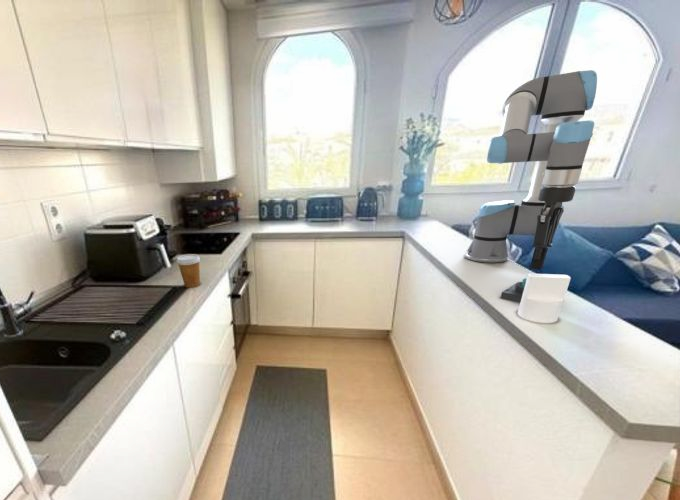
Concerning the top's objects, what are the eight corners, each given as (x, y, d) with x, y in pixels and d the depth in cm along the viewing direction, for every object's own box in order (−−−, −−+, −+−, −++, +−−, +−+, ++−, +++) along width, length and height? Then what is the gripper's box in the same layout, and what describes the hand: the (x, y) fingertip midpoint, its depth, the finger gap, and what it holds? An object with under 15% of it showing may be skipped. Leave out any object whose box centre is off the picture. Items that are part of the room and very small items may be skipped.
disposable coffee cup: (208, 281, 146) (204, 254, 141) (195, 289, 138) (190, 260, 133) (189, 280, 150) (185, 253, 145) (176, 287, 142) (171, 259, 137)
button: (524, 283, 110) (525, 277, 109) (539, 286, 107) (540, 280, 106) (519, 286, 108) (520, 280, 107) (534, 289, 105) (536, 283, 104)
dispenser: (515, 288, 116) (518, 277, 114) (552, 295, 108) (555, 284, 107) (500, 298, 110) (503, 286, 108) (537, 307, 102) (541, 294, 100)
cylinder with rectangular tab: (523, 321, 95) (534, 280, 90) (513, 308, 102) (523, 270, 97) (563, 324, 92) (577, 282, 87) (550, 310, 99) (562, 271, 94)
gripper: (550, 183, 100) (529, 261, 110) (533, 188, 93) (512, 271, 103) (583, 183, 94) (558, 266, 104) (568, 188, 87) (543, 276, 97)
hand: (535, 268), depth 103 cm, fingers closed
